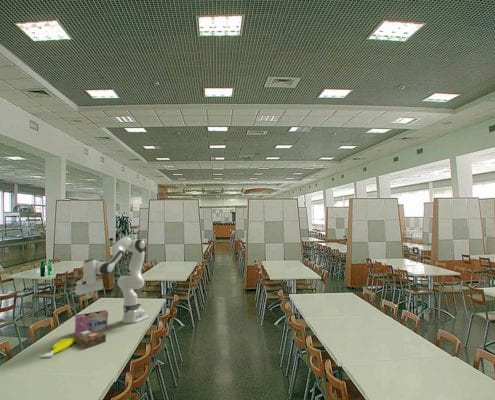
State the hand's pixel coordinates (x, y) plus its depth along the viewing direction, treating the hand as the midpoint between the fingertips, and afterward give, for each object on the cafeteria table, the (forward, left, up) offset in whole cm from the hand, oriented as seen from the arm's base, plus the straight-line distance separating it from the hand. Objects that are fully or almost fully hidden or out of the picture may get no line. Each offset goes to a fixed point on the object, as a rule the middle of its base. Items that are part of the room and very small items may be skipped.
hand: (89, 298), depth 237 cm
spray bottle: (+25, +7, -29) cm, 39 cm away
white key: (+6, +7, -27) cm, 28 cm away
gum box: (-7, -9, -29) cm, 31 cm away
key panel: (+6, +12, -29) cm, 32 cm away
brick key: (+6, +17, -27) cm, 32 cm away
